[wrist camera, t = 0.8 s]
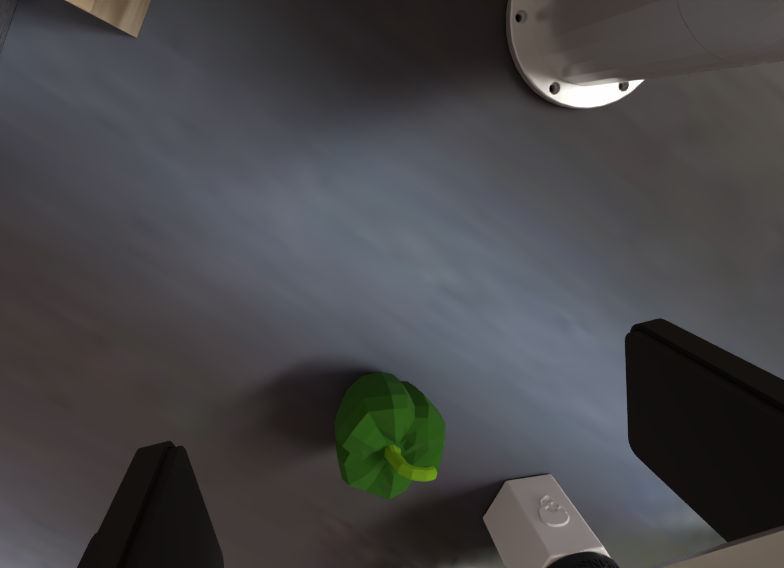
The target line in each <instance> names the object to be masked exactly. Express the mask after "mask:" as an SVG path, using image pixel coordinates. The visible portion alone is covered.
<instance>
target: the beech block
mask: <svg viewBox="0 0 784 568" xmlns="http://www.w3.org/2000/svg"><path fill="white" fill-rule="evenodd" d="M65 1H67V2H69V3H71V4H73V5H75V6H76V7H78V8H80V9H82V10H84V11H86V12H88V13H90V14H92V15H94V16H96V17H97V18H99V19H101V20H103V21H105V22H107V23H109V24H111V25H113V26H115V27H117V28H118V29H120V30H122V31H124V32H126V33H128V34H130V35H132V36H134V37H136V38H137V36H138V33H139V31H140V28H141V25H142V23H143V20H144V17H145V15H146V12H147V10H148V7H149V4H150V2H151V0H65Z"/></svg>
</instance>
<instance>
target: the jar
mask: <svg viewBox="0 0 784 568" xmlns="http://www.w3.org/2000/svg"><path fill="white" fill-rule="evenodd" d="M483 521H484V523H485V525H486V527H487V529H488V531H489V533H490V535H491V538H492V540H493V542H494V544H495V546H496V548H497V550H498V552H499V555H500V557H501V559H502V561H503V563H504V565H505V567H506V568H619V567H618V565H617V564H616V563H615V562H614V561H613V560H612V559H611V557H610V556H609V554H608V553H607V551H606V550H605V548H604V547H603V545H602V544H601V542H600V541H599V540H598V538H597V537H596V536H595V534H594V533H593V531H592V530H591V529H590V527H589V526H588V525H587V523H586V522H585V520H584V519H583V518H582V516H581V515H580V514H579V512H578V511H577V509H576V508H575V507H574V505H573V504H572V502H571V501H570V500H569V498H568V497H567V496H566V494H565V493H564V491H563V490H562V489H561V487H560V486H559V485H558V483H557V482H556V480H555V479H554V478H553V476H552V475H551V474H546V475H540V476H533V477H527V478H521V479H514V480H508V481H505V483H504V485H503V486H502V488H501V489H500V491H499V493H498V494H497V496H496V497H495V499H494V501H493V502H492V504H491V506H490V507H489V509H488V510H487V512H486V514H485V515H484V517H483Z"/></svg>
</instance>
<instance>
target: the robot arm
mask: <svg viewBox="0 0 784 568" xmlns="http://www.w3.org/2000/svg"><path fill="white" fill-rule="evenodd" d="M516 15H517V16H518V17H519V22H517V21H516V18H515V16H516ZM506 35H507V40H508V46H509V51H510V53H511V56H512V59H513V61H514V64H515V67H516V68H517V70H518V72H519V73H520V75H521V76H522V78H523V80H524V81H525V82H526V83H527V84H528V85H529V87H530V88H531V89H532V90H533V91H534V92H535V93H537V94H538V95H539V96H541V97H542V98H544V99H545V100H546V101H548V102H551V103H553V104H556V105H558V106H560V107H566V108H572V109H590V108H596V107H602V106H605V105H608V104H611V103H613V102H616V101H618V100H620V99H621V98H623V97H625V96H627V95H628V94H630V93H631V92H632V91H633V90H634V89H635V88H636V87H638V86H639V85H640V84H641V83H642V82H643V81H644V80H645V79H652V78H660V77H668V76H675V75H683V74H691V73H698V72H706V71H713V70H721V69H729V68H736V67H744V66H751V65H759V64H765V63H773V62H780V61H784V0H508V3H507V10H506ZM618 85H619V88H618ZM550 86H551V87H552V91H551V92H550V90H549V87H550ZM625 356H626V385H627V414H628V439H629V444H630V447H631V449H632V451H633V452H634V454H635V455H636V456H637V457H638V458H639V459H640V460H641V461H642V462H643V463H644V464H645V465H646V466H647V467H648V468H649V469H650V470H652V471H653V472H654V473H655V474H656V475H657V476H658V477H659V478H660V479H661V480H662V481H663V482H664V483H665V484H666V485H667V486H669V487H670V488H671V489H672V490H673V491H674V492H675V493H676V494H677V495H678V496H679V497H680V498H681V499H682V500H683V501H684V502H685V503H687V504H688V505H689V506H690V507H691V508H692V509H693V510H694V511H695V512H696V513H697V514H698V515H699V516H700V517H701V518H702V519H703V520H705V521H706V522H707V523H708V524H709V525H710V526H711V527H712V528H713V529H714V530H715V531H716V532H717V533H718V534H719V535H720V536H721V537H723V538H724V539H725V540H726V541H727V542H728V543H725V544H721V545H718V546H715V547H712V548H708V549H705V550H702V551H699V552H695V553H692V554H689V555H686V556H682V557H679V558H676V559H673V560H669V561H666V562H663V563H659V564H656V565H653V566H650V567H646V568H784V380H783V379H781V378H779V377H777V376H775V375H773V374H771V373H769V372H767V371H765V370H763V369H761V368H759V367H757V366H755V365H753V364H751V363H749V362H747V361H745V360H743V359H741V358H739V357H737V356H735V355H733V354H731V353H729V352H727V351H725V350H723V349H721V348H719V347H718V346H716V345H714V344H712V343H710V342H708V341H706V340H704V339H702V338H700V337H698V336H696V335H694V334H692V333H690V332H688V331H686V330H684V329H682V328H680V327H678V326H676V325H674V324H672V323H670V322H668V321H666V320H664V319H661V318H660V319H655V320H651V321H647V322H643V323H639V324H635V325H634V326H633V327H632V328H631V331H630V333H628V334H627V335H626V337H625ZM77 568H224V561H223V555H222V552H221V549H220V546H219V543H218V540H217V537H216V534H215V532H214V529H213V526H212V523H211V520H210V517H209V515H208V512H207V509H206V506H205V503H204V500H203V497H202V495H201V492H200V489H199V486H198V483H197V480H196V478H195V475H194V472H193V469H192V466H191V463H190V460H189V458H188V455H187V452H186V450H185V448H184V447H183V446H178V447H175V445H174V444H173V443H172V442H171V441H167V442H163V443H159V444H155V445H151V446H147V447H143V448H139V449H138V450H137V452H136V453H135V456H134V458H133V460H132V462H131V464H130V466H129V468H128V470H127V472H126V474H125V476H124V478H123V481H122V483H121V485H120V487H119V489H118V491H117V493H116V495H115V497H114V499H113V501H112V503H111V506H110V508H109V510H108V512H107V514H106V516H105V518H104V520H103V522H102V524H101V526H100V528H99V530H98V532H97V533H96V534H94V536H93V537H92V539H91V540H90V542H89V544H88V546H87V548H86V550H85V552H84V554H83V557H82V559H81V561H80V563H79V565H78V567H77Z"/></svg>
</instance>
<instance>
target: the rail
mask: <svg viewBox="0 0 784 568" xmlns="http://www.w3.org/2000/svg"><path fill="white" fill-rule="evenodd" d="M17 1H18V0H0V52H1V49H2V46H3V43H4V40H5V37H6V34H7V31H8V28H9V25H10V22H11V19H12V16H13V13H14V10H15V7H16V4H17Z"/></svg>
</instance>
